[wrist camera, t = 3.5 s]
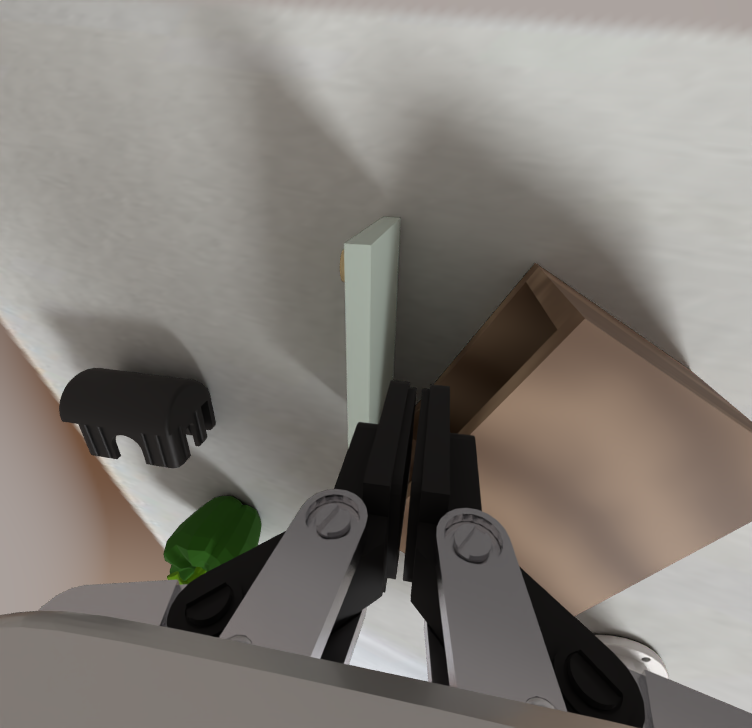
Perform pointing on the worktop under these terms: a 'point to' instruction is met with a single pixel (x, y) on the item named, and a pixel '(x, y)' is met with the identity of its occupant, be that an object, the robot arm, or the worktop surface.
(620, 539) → the cabinet
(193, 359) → the worktop surface
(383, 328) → the door
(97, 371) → the end cap
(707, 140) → the worktop surface
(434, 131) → the worktop surface
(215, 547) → the bell pepper
